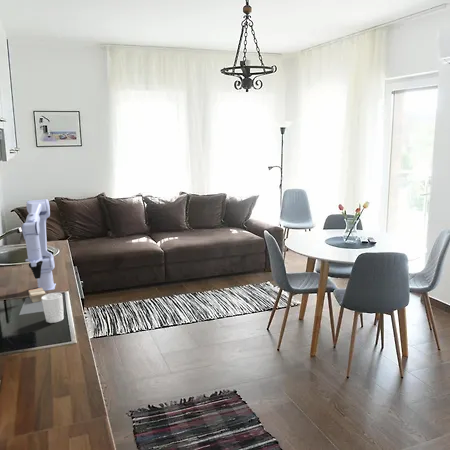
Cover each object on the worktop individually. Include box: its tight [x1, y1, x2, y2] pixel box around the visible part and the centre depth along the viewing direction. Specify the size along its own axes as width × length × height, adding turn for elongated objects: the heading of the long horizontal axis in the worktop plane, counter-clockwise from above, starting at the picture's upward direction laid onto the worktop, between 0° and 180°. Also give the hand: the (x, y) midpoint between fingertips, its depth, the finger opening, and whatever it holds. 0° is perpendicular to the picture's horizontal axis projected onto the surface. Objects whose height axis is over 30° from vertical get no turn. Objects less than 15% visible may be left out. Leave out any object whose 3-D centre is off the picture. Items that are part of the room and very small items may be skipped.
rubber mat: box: [18, 297, 44, 316], centre depth 205 cm, size 22×14×1 cm, turn 16°
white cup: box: [41, 292, 65, 324], centre depth 185 cm, size 8×8×10 cm
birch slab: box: [28, 287, 47, 302], centre depth 212 cm, size 3×6×10 cm
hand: (37, 278), depth 209 cm, fingers closed
